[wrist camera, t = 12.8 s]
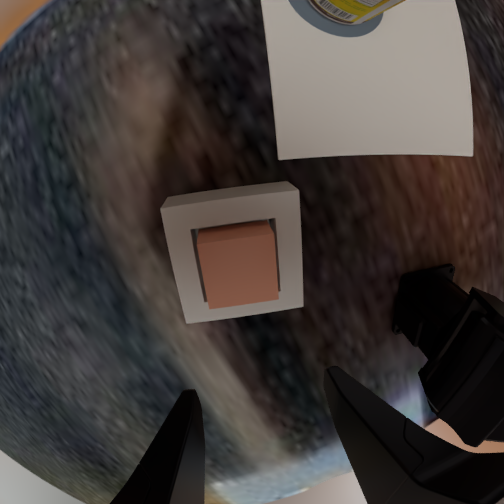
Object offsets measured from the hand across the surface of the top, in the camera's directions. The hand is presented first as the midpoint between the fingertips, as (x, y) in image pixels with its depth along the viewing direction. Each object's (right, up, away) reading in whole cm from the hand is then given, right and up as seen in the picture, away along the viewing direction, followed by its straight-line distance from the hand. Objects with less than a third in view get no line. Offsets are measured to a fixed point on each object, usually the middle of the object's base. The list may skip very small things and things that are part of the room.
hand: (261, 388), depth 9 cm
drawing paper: (+9, +20, +7) cm, 23 cm away
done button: (-1, +4, +10) cm, 11 cm away
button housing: (-2, +5, +12) cm, 13 cm away
